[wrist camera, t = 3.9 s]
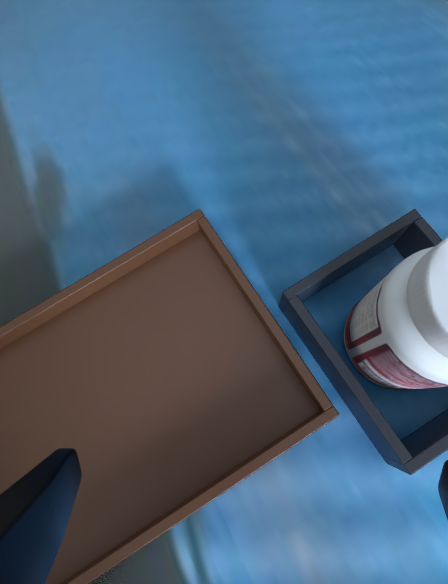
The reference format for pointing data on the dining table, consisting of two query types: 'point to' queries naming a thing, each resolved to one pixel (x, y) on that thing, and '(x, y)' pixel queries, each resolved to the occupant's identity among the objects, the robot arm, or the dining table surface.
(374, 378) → the pill bottle
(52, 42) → the dining table surface
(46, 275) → the dining table surface
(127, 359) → the tray
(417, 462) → the tray
